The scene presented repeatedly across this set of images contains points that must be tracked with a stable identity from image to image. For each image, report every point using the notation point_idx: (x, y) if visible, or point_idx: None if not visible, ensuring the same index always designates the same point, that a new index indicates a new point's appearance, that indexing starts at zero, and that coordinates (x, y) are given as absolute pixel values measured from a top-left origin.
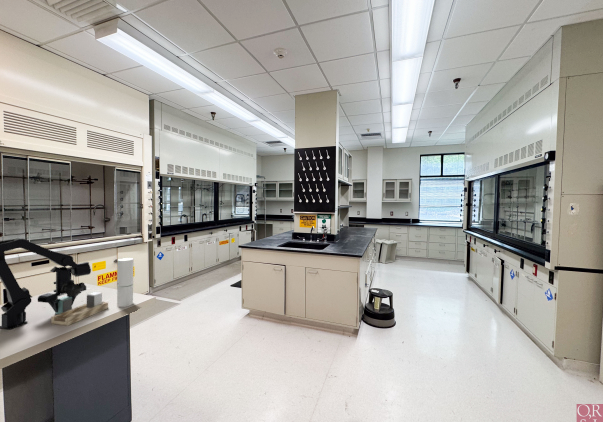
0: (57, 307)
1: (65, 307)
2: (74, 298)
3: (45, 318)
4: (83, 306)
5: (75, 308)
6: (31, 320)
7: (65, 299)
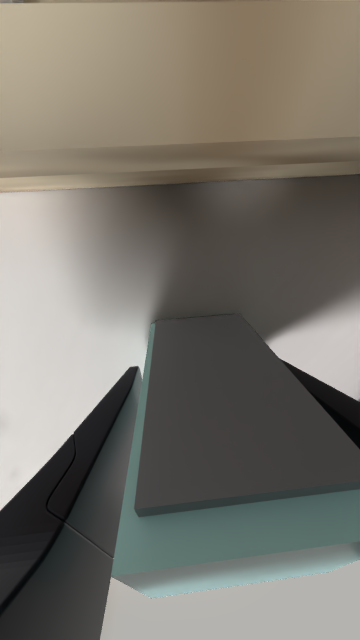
0: (317, 389)
1: (240, 346)
2: (55, 473)
3: (321, 346)
4: (74, 32)
5: (291, 59)
6: (342, 384)
7: (317, 531)
